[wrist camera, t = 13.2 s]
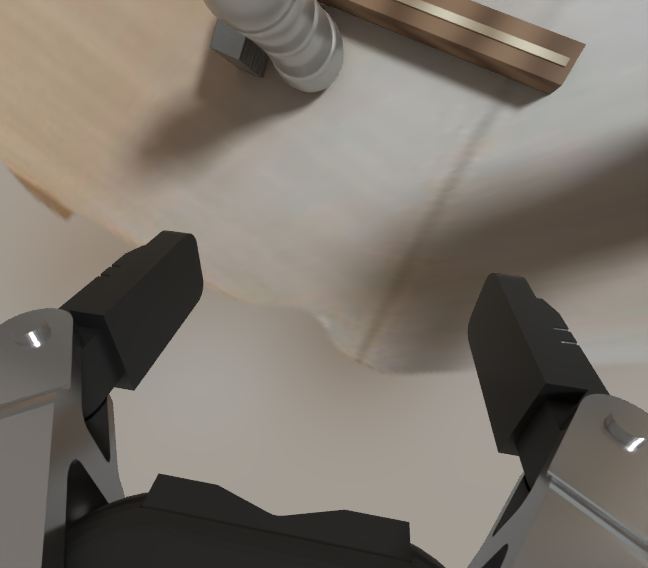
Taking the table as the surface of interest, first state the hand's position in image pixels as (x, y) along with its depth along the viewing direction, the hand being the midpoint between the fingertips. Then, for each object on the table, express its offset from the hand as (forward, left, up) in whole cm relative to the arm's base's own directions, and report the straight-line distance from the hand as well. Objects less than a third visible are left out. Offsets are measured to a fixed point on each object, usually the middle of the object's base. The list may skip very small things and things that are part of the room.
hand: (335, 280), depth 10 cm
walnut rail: (+7, -17, -27) cm, 33 cm away
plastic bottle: (+14, -11, -28) cm, 32 cm away
